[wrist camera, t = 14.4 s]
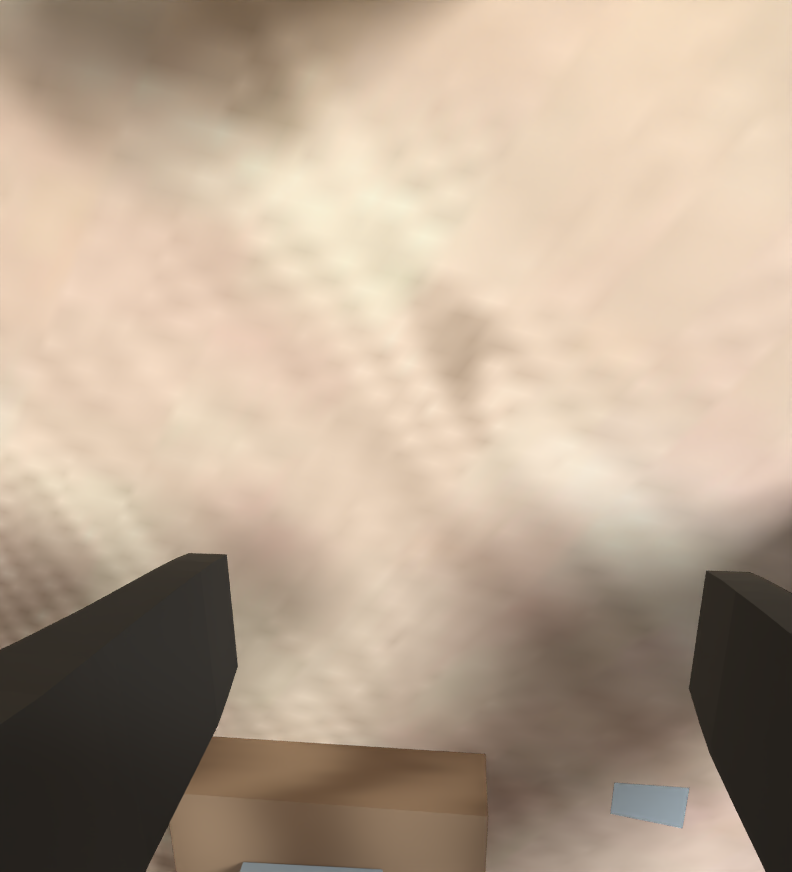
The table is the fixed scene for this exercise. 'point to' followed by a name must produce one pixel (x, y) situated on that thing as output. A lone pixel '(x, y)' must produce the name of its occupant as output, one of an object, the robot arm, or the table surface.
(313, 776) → the walnut block
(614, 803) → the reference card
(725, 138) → the table surface
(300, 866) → the slate block
